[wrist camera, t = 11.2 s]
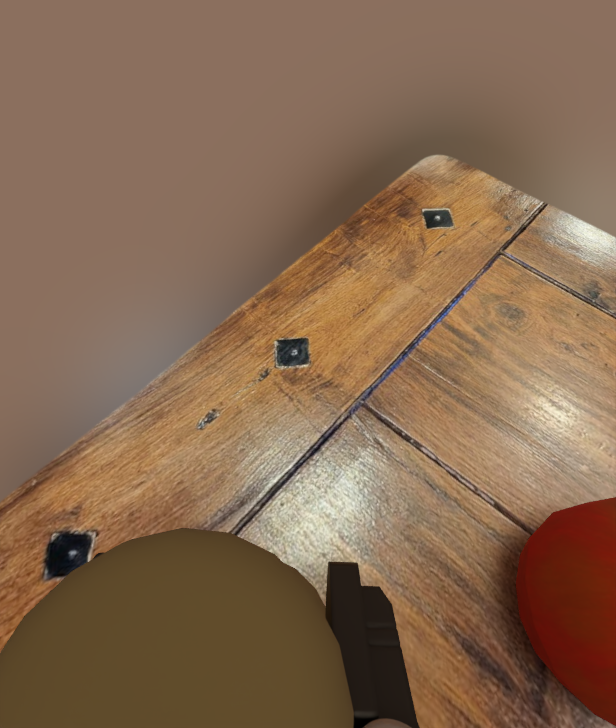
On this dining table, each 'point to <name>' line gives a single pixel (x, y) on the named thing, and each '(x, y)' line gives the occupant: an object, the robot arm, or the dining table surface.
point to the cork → (177, 643)
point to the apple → (574, 601)
